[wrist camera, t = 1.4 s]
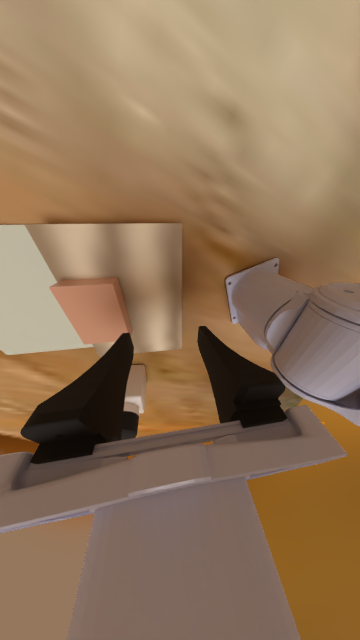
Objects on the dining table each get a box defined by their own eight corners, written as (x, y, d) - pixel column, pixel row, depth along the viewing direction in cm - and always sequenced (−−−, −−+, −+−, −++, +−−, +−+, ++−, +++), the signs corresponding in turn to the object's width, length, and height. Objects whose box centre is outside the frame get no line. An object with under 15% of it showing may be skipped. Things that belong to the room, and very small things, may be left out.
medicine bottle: (110, 365, 28) (84, 438, 18) (144, 363, 29) (137, 431, 19) (117, 383, 32) (98, 451, 22) (146, 381, 33) (141, 444, 23)
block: (117, 277, 15) (112, 283, 13) (132, 330, 20) (130, 340, 18) (61, 280, 14) (48, 287, 13) (90, 334, 19) (84, 344, 17)
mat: (44, 224, 14) (41, 224, 13) (103, 344, 24) (103, 345, 24) (-139, 226, 12) (-147, 225, 12) (9, 353, 23) (7, 355, 22)
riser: (178, 223, 15) (182, 223, 13) (179, 337, 26) (181, 348, 23) (47, 224, 14) (24, 224, 11) (105, 344, 24) (99, 357, 22)
